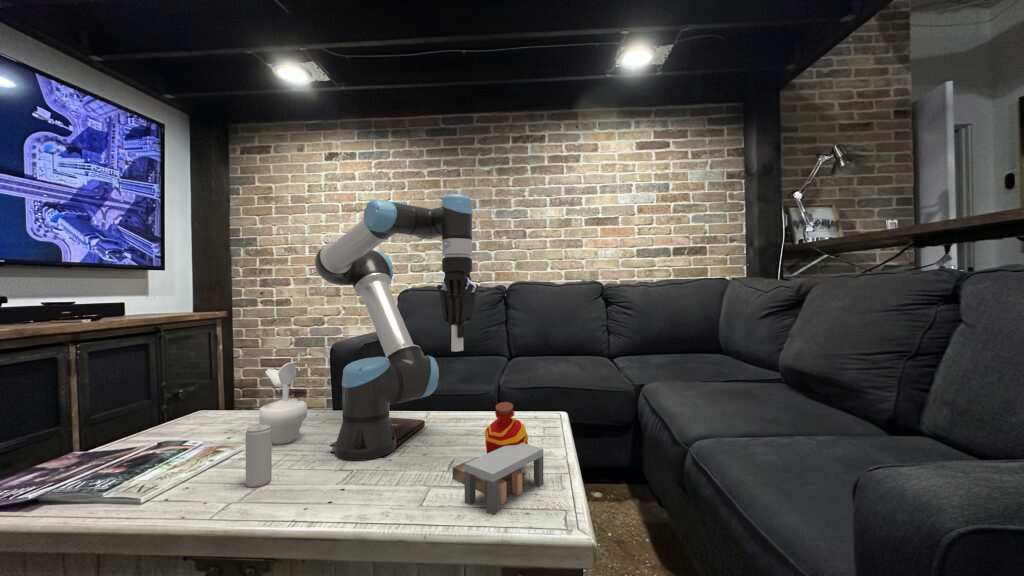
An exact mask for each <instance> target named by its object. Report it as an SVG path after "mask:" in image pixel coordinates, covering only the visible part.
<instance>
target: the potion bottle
mask: <svg viewBox="0 0 1024 576" xmlns="http://www.w3.org/2000/svg"><path fill="white" fill-rule="evenodd" d="M495 409H496V410H495V412H494V413H495V417H496V419H495V420H493V421H492V422H491V423H490V424H489V425H488V427H485V430H484V438H485V439H484V440H485V442H484V443H485V448H486V450H485V451H486V454H488V453H490V452H492V451H494V450H497V449H499V448H501V447H503V446H507V445H518V444H520V443H525V444H528V442H529V436H528V433H527V429H526V426H525V424H524V423H523V422H522V421H521V420H519V419H516V418H513V417H514V415H515V411H514V405H513V403H512V402H508V401H502V402H499V403H498V404H496V405H495ZM528 445H529V444H528Z"/></svg>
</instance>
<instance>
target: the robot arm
mask: <svg viewBox="0 0 1024 576" xmlns="http://www.w3.org/2000/svg"><path fill="white" fill-rule="evenodd" d="M440 205H441V206H440V207H436V208H427V207H422V206H415V205H410V204H405V203H399V202H393V201H389V200H387V199H384V200H380V199H371V200H370V201H368V202H367V203H366V207H365V208H364V210H363V219H362V220H361V221H359V222H358V223H357V224H356V225H354V226H353V227H352V228H350V230H348V231H347V232H346V233H344V234H343V235H342V236H341V237H340V238H338V239H337V240H335V241H334V242H330V243H329V242H328V243H326V244H325V245H324V246H322V247H321V248H320V249H319V250H318V251H317V254H316V256H315V259H314V266H315V269H316V271H317V274H319V276H320V277H321V279H323V280H324V281H326V282H327V283H330V284H332V285H337V286H338V285H339V286H352V287H353V289H354V292H355V293H356V295H358V296H360V297H362V299H363V301H364V304H365V307H366V309H367V311H368V314H369V316H370V320H371V322H372V325H373V327H374V329H375V332H376V334H377V338H378V340H379V342H380V345H381V347H382V350H383V353H384V354H385V355H384V356H375V357H366V358H360V359H358V360H355V361H352V362H350V363H348V364H347V365H345V367H344V368H343V370H342V380H341V386H342V387H341V388H342V389H341V390H342V394H341V395H342V404H341V405H342V424H341V425H340V429H339V433H338V435H337V438H336V441H335V446H334V449H335V450H334V454H335V456H336V457H337V458H339V459H341V460H345V461H365V460H366V461H367V460H373V459H378V458H382V457H384V456H386V455H389V454H391V453H393V451H395V449H396V448H397V436H396V434H395V430H394V428H393V427H394V426H393V424H392V422H391V418H390V405H394V404H400V403H405V402H410V401H413V400H420V399H422V398H426V397H429V396H431V395H432V394H433V393H434V392H435V390H436V389H437V387H438V384H439V379H440V378H439V377H440V373H439V371H440V370H439V365H438V363H437V361H436V359H435V357H433V356H431V355H425V353H424V351H423V350H422V348H421V347H420V345H416V344H414V342H413V340H412V337H411V335H410V333H409V331H408V329H407V327H406V324H405V321H404V319H403V317H402V315H401V313H400V309H399V308H398V305H397V303H396V300H395V298H394V295H393V293H392V292H391V289H390V285H391V282H392V280H393V276H394V270H393V263H392V261H391V259H390V257H389V256H388V255H387V254H386V253H385V252H384V251H383V252H382V251H378V250H374V249H375V248H376V247H378V246H380V245H381V244H382V243H383V242H385V241H387V240H388V239H390V238H391V237H393V236H394V235H408V236H416V237H417V238H419V239H423V240H424V239H425V240H427V239H428V240H432V239H435V238H439V237H440V238H441V248H442V249H441V255H442V256H443V258H442V259H441V271H442V272H443V273H444V278H443V282H442V283H441V284H438V285H437V286H436V287H437V288H436V289H437V291H438V293H439V298H440V304H441V310H442V317H443V321H444V322H447V323H448V325H449V332H450V333H449V336H450V338H451V341H450V342H451V347H450V348H451V350H450V351H451V352H453V353H454V352H462V351H464V338H465V337H466V329H465V327H466V325H467V324H468V323H471V322H472V319H473V312H474V305H475V301H476V294H477V291H478V290H479V284H478V283H477V284H476V283H474V282H473V281H472V277H471V274H470V273H472V272H473V259H472V255H473V208H472V199H471V198H470V197H469V196H468V195H465V194H458V193H455V194H452V193H451V194H445V195H443V197H442V199H441V204H440Z"/></svg>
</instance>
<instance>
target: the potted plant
mask: <svg viewBox="0 0 1024 576" xmlns="http://www.w3.org/2000/svg"><path fill="white" fill-rule="evenodd" d="M295 358H296V359H297V360H295V361H292V362H287V363H285V364H284V365H282V366H281V367H280V368H279V369H274V368H268V369H266V371H265V372H264V374H266V376H267V377H268V379H269V380H270V381H271V383H272V384H273V386H275V387H277V388H281V387H282V388H281V389H282V390H281V391H282V397H281V399H280V398H279V399H278V400H276V401H273V402H271V403H270V402H269V403H267V404H264V405H262V406H261V407H259V409H258V410H259V415H258V417H259V418H258V419H259V425H260V424H269V425H271V427H270V428H271V429H272V444H273V445H286V444H289V443H292V442H293V441H295V440H296V439H297V438H298V435H299V434H300V430H301V428H302V424H303V422H304V421H305V420H306V419H307V417H308V414H307V412H308V409H307V408H308V407H307V406H308V403H307V402H305V401H304V400H298V398H289V395H290V393H289V392H290V387H289V386H288V385H291V384H292V383H293V382H294V380H295V379H296V376H297V371H298V372H300V370H302V369H301V368H300V367H298V368H297V369H296V364H300V360H301V359H302V358H303V357H302V356H301V354H300V353H298V355H296V356H295ZM304 367H305V369H307V367H309V365H308V364H307V362H306V363H305V365H304Z"/></svg>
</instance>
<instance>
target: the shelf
mask: <svg viewBox="0 0 1024 576" xmlns="http://www.w3.org/2000/svg"><path fill="white" fill-rule="evenodd" d="M477 457H478V458H477ZM477 457H475V458H476V459H474V458H473V459H474V460H472V459H471V460H472V461H469V460H468V461H469V462H467V461H466V462H467V463H465V484H464V503H465V504H467V505H472V504H474V503H476V500H477V499H476V491H477V490H476V480H475V476H478V477H481V478H483V479H486V480H487V494H486V505H487V506H486V507H487V508H486V513H487V514H490V515H492V516H495V515H496V514H498V513H499V511H500V510H499V508H500V506H502V505H503V504H505V503H506V502H507V496H506V481H504V480H502V479H500V478H502V477H504V476H506V475H508V474H510V473H512V472H513V473H512V493H511V494H514V495H516V496H519V495H521V494H522V493H523V487H522V473H523V471H522V467H523V468H524V467H525V466H527V465H529V464H531V463H533V485H534V486H537V487H541V486H542V485H544V481H545V480H544V448H542V447H538V446H535V445H531V444H525V443H520V444H518V445H507V446H503V447H501V448H499V449H497V450H494V451H492V452H490V453H488V454H487V453H485V454H483V455H481V456H477ZM515 470H516V471H515ZM514 471H515V472H514ZM498 479H500V480H498Z"/></svg>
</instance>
